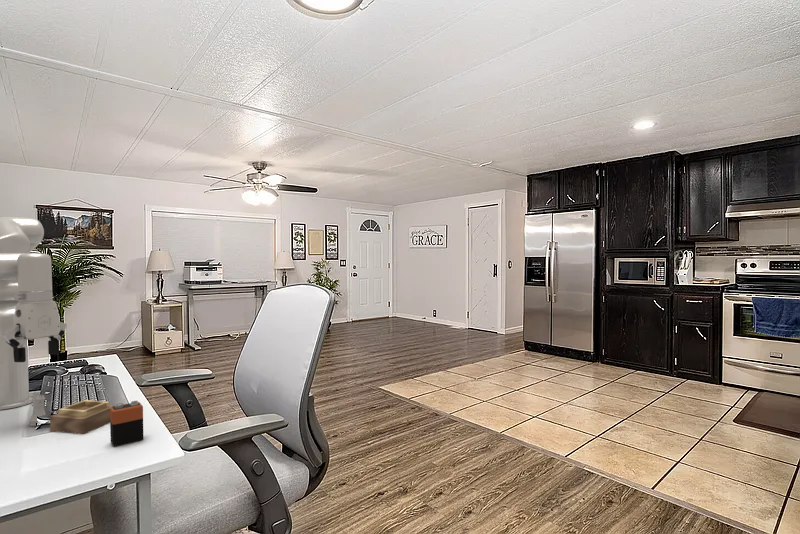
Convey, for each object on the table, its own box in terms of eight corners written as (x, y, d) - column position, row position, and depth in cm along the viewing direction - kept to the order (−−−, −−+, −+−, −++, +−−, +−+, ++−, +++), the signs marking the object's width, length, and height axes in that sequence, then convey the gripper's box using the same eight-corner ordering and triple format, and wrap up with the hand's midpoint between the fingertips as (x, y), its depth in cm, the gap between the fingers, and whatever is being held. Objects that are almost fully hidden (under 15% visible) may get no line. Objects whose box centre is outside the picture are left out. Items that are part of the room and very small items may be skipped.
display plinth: (50, 430, 124) (49, 410, 124) (85, 416, 135) (85, 398, 135) (83, 434, 122) (83, 413, 122) (117, 419, 133) (117, 400, 132)
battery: (110, 442, 117) (109, 403, 116) (140, 435, 121) (139, 397, 121) (113, 447, 113) (112, 407, 113) (143, 440, 118) (143, 401, 118)
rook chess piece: (45, 419, 132) (45, 392, 132) (51, 423, 130) (50, 395, 130) (26, 424, 129) (25, 396, 129) (31, 428, 126) (31, 399, 126)
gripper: (14, 300, 119) (16, 365, 119) (74, 294, 136) (76, 352, 136) (-9, 300, 120) (-7, 364, 121) (54, 294, 137) (55, 351, 138)
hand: (37, 358), depth 129 cm, fingers open, 9 cm apart
